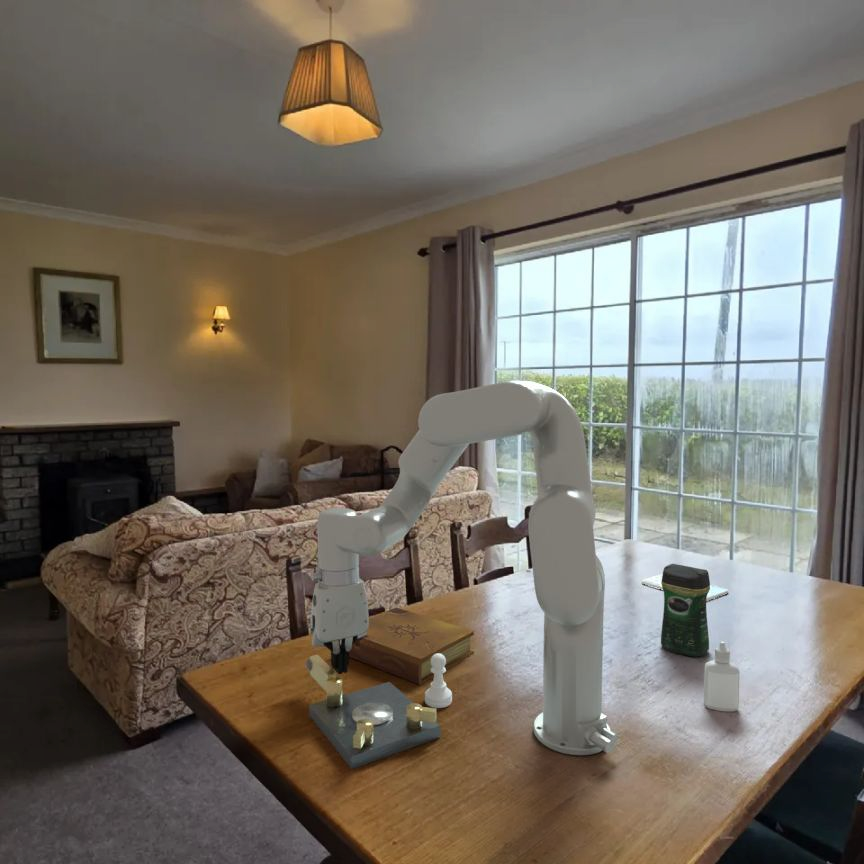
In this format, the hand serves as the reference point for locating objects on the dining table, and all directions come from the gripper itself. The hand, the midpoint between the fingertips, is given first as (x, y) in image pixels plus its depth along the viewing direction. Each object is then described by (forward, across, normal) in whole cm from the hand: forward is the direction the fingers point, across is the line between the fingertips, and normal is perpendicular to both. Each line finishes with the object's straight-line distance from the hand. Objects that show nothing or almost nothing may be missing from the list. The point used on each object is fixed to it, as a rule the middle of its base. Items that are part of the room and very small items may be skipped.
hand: (340, 670), depth 115 cm
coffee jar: (+5, +72, -22) cm, 76 cm away
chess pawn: (+5, +14, -12) cm, 19 cm away
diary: (+5, +19, +9) cm, 22 cm away
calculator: (+5, +108, +4) cm, 109 cm away
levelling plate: (+5, 0, -13) cm, 14 cm away
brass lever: (+3, -4, -1) cm, 5 cm away
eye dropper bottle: (+5, +56, -41) cm, 70 cm away
